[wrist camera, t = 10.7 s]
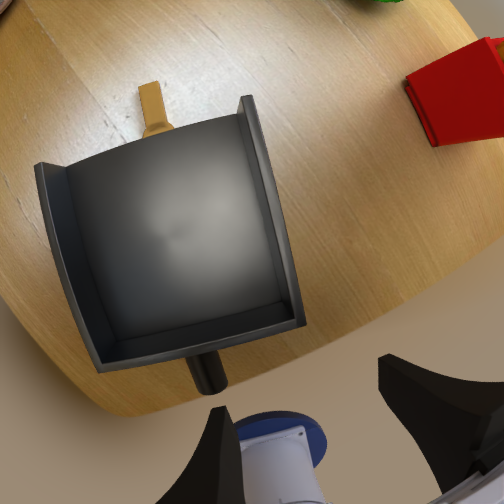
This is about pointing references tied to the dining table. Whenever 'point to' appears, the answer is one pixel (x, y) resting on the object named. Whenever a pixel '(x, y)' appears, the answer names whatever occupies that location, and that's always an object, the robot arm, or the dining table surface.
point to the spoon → (153, 109)
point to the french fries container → (462, 94)
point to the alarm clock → (4, 4)
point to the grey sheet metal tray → (174, 246)
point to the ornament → (389, 0)
